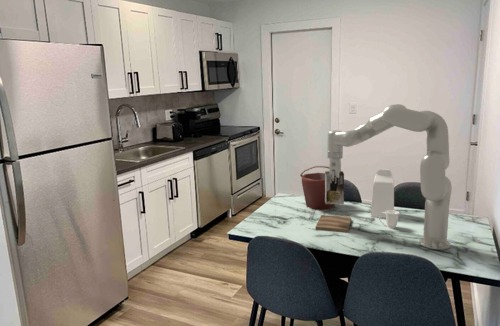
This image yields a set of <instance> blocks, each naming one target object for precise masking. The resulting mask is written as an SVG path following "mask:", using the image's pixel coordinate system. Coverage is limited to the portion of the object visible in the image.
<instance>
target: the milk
mask: <svg viewBox="0 0 500 326" xmlns="http://www.w3.org/2000/svg"><path fill="white" fill-rule="evenodd" d="M393 177H394V176H393V174H392V172H391V169H389V168H378V169H377V171H376V173H375V176H374V178H373V184H372V186H373V187H372V199H371V200H372V201H371V212H370V213H371V214H370V217H371V218H377V217H378V218H377V219H379V215H380V214H381V213H382V212H385V211H387V210H395V185H394V183H395V182H394V178H393ZM380 219H386V214H384V213H382V214H381V216H380Z"/></svg>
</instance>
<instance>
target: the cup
mask: <svg viewBox="0 0 500 326" xmlns="http://www.w3.org/2000/svg"><path fill="white" fill-rule="evenodd" d="M382 213H384V214H386V218H385V220H386V224H385V223H384V222H383V220H381V218H380V216H381V214H382ZM382 213H381V214H380V215H379V218H378V221H379V223H381V224H382V225H383V226H384V227H386V228H387V229H390V230H391V229H393V230H394V229H397V225H398V222H399V218H400V212H399V211H398V210H395V209H394V210H387V211H385V212H382Z"/></svg>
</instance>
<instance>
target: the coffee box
mask: <svg viewBox="0 0 500 326" xmlns="http://www.w3.org/2000/svg"><path fill="white" fill-rule="evenodd" d="M324 173H325V202H326V204H335V205H344V204H345V196H344V195H345V173H344V171H343V170H341V172H340V178H338V177H337V181H336V183H337V191H330V183H331V178H330V173H329V170H326V171H324ZM334 177H336V176H334Z"/></svg>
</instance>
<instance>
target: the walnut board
mask: <svg viewBox="0 0 500 326" xmlns="http://www.w3.org/2000/svg"><path fill="white" fill-rule="evenodd" d="M351 222H352V217H351V216H337V215H326V214H325V215H324V214H321V215H320V217H319V219H318V221H317V223H316V225H315V230H317V231H318V230H319V231H329V232H330V231H331V232H340V233H349V230H350V226H351Z"/></svg>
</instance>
